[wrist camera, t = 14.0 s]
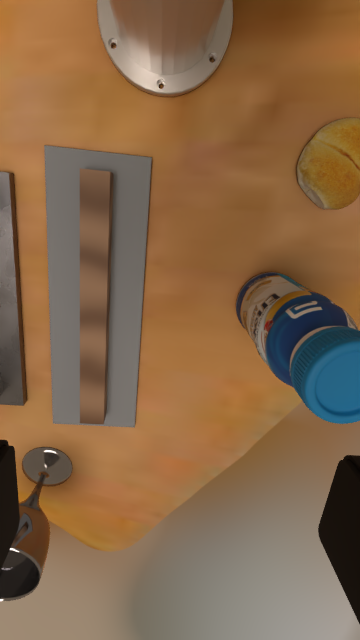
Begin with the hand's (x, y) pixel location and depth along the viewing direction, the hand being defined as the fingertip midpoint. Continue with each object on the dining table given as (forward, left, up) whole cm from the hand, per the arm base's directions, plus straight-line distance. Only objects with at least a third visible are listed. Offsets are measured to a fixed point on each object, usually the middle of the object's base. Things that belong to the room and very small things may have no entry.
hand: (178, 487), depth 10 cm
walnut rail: (+5, -8, -32) cm, 33 cm away
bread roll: (-13, +18, -33) cm, 40 cm away
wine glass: (+30, -15, -32) cm, 47 cm away
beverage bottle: (+3, +13, -32) cm, 35 cm away
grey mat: (+5, -8, -32) cm, 34 cm away
